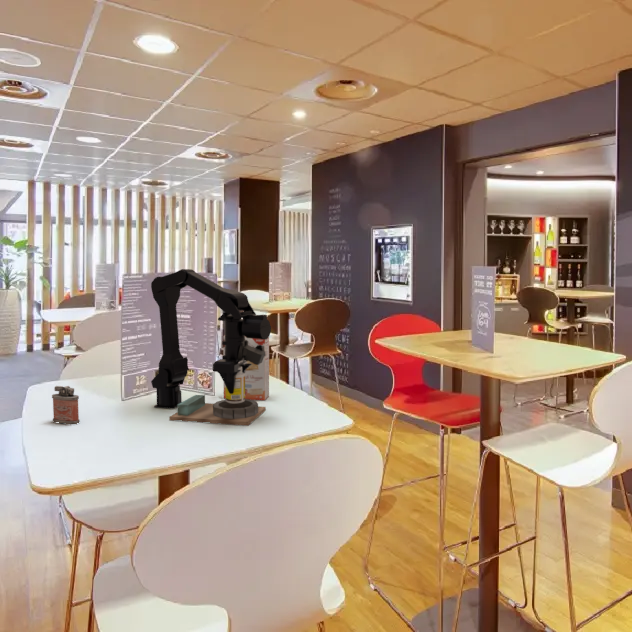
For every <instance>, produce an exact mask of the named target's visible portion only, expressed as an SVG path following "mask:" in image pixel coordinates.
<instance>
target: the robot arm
mask: <svg viewBox="0 0 632 632" xmlns="http://www.w3.org/2000/svg"><path fill="white" fill-rule="evenodd" d="M186 287H190V288H192V289H194V290H195V291H196V292H199V293H200V294H202V295H204V296H205V297H208V298H209V299H211V300H213V301H214V302H215V305H216V307H218V308H219V309H220V310H221V311H222V312H223V313H222V314H221V315H220V316H219V317H218V318H217V320H218V321H221V322H224V336H225V341H223V340H222V342H221V345H222V346H224V345H225V355H221V357H222V359H218V360H216V361H215V362H213V363H212V372H214V373H215V372H216V373H218V374H219V375H220V377H221V379H222V381H223V384H224V383H225V385H226V387H227V389H228V391H229V393H230V394H233V393H234V387H235V379H236V375H237V374H238V373H239V372H240V371H241V370H238V368H239V366H242V372H243V373H244V374H245V371H246V369H247V368H248V367H249V366H251V365H252V364H247V361H250V362H253V364H256V365H259V364H260V363H262V361H263V358H264V357H265V356H266V354H265V351H264V346H262V345H258V346H256V347H255V348H254V347H251V346H249V345H248V341H247V340H245V337H246V338H253V339H267V338H268V337H269V338H270V335H271V332H272V326H271V324H270V320H269V319H268V315H267V314H257V313H256V312H255V310H254V309H253V307H252V305H251V304H250V302H249V299H248V295H247V294H246V293H243V292H241V291H238V290H234V289H229V288H227V287H223V286H221V285H220V284H217V283H215V281H212V280H211V279H209V278H206V276H203V275H201V274H199V273H197V272H196V271H195V270H194V269H191V268H185V269H184V268H183V269H180V270H178V271H175V272H173V273H170V274H166V275H163V276H156V277H154V278H153V280H152V281H151V284H150V289H151V293H152V296H153V299H154V301H155V303H156V304H157V306H158V308H159V319H160V320H159V321H160V333H161V335H160V336H161V346H162V354H161V355H162V356H161V358H160V359H159V363H158V373H157V374H156V375H155V376H154V377H153V379H152V380H151V381H150V382H151V386H152V388H153V389H156V404H155V405H154V406H153V407H154V408H159V409H175V408H178V404H180V403H181V402H183V400H182V390H181V385H183V384H184V382H185V379H186V377H187V375H188V371H190V369H189V368H190V367H189V366H188V365H189V363H188V361H189V360H188V357H184V356H183V355H182V353H181V350H180V340H179V339H180V338H179V325H178V314H177V304H178V301H179V300H180V297H181V290H182V289H184V288H186Z"/></svg>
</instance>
